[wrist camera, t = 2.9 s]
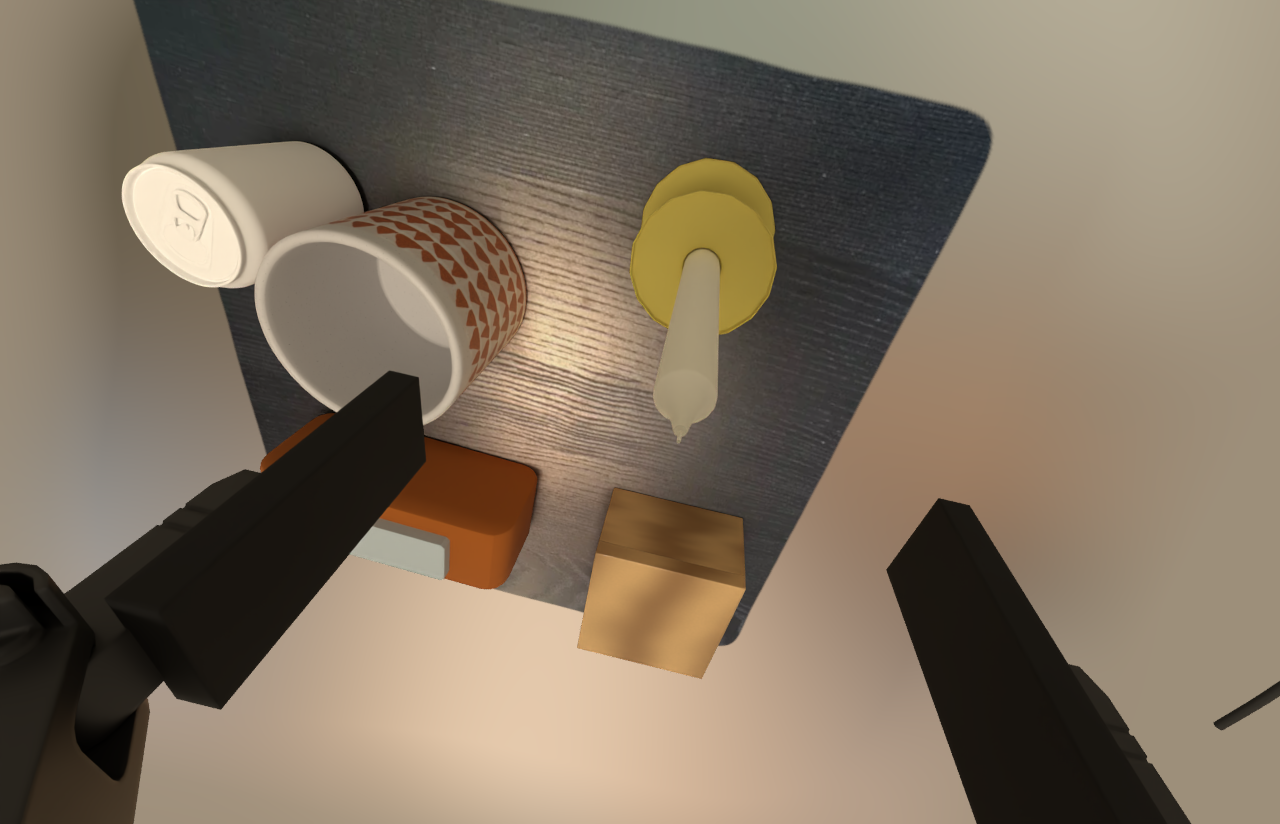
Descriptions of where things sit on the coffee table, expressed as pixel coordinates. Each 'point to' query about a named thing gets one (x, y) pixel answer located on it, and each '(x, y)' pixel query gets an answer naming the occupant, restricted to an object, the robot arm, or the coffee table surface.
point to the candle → (701, 275)
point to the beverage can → (233, 205)
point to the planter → (391, 301)
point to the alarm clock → (449, 515)
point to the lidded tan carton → (663, 583)
